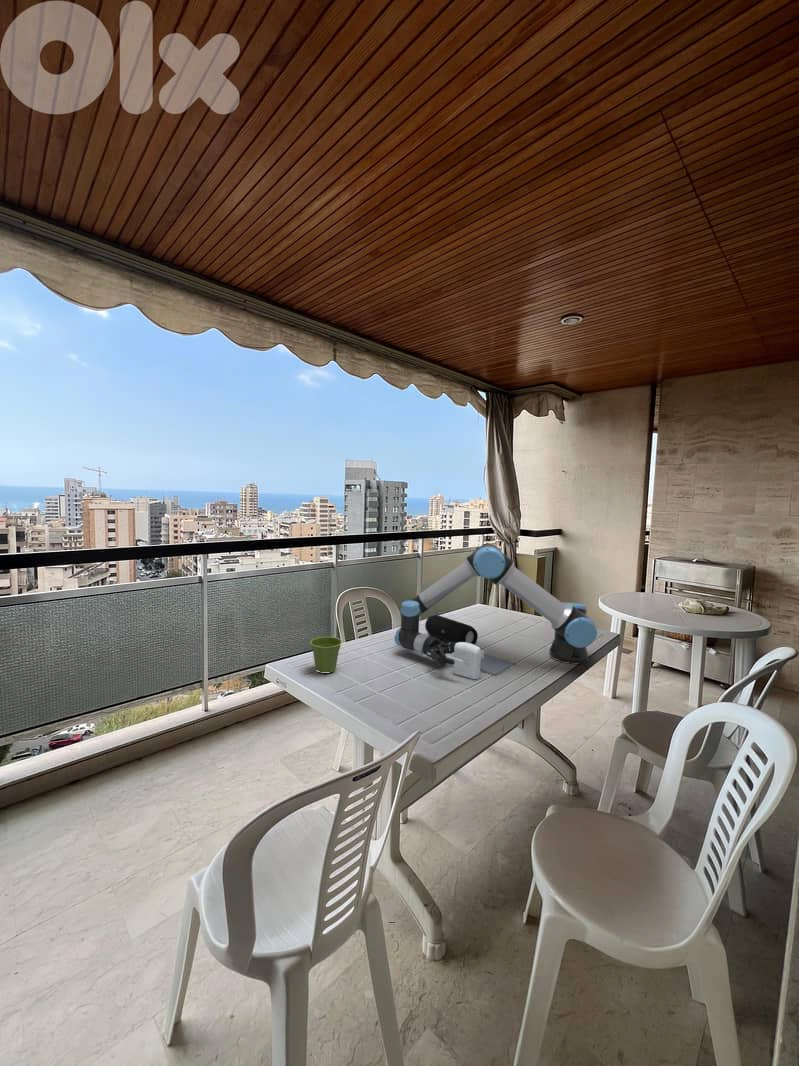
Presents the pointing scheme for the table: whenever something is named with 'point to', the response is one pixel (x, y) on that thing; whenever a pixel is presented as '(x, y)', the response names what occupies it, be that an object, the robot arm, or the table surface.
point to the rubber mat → (494, 664)
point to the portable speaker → (450, 630)
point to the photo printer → (468, 660)
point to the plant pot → (325, 652)
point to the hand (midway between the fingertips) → (473, 659)
